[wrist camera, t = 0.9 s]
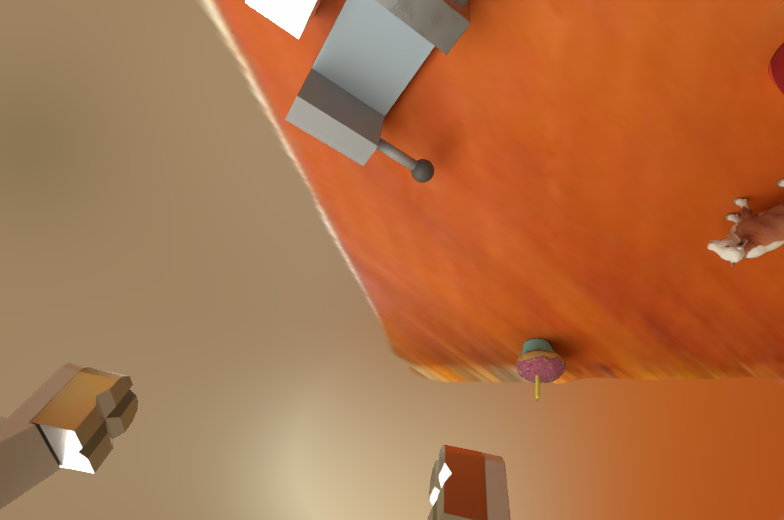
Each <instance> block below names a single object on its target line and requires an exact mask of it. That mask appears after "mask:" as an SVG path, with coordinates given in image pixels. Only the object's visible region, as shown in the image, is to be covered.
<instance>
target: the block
mask: <svg viewBox="0 0 784 520" xmlns="http://www.w3.org/2000/svg"><path fill="white" fill-rule="evenodd" d="M320 2H321V0H246V1H245V3H246V4H248V5H249V6H251V7H252V8H254V9H255V10H257V11H258V12H259V13H261V14H262V15H264V16H265V17H267V18H268V19H270V20H271V21H273V22H274V23H276V24H277V25H279V26H280V27H282V28H283V29H285V30H286V31H288V32H289V33H290V34H292V35H293V36H295V37H296V38H298V39H299V38H300V37H301V35H302V34H303V32H304V31H305V29H306V27H307V26H308V24H309V23H310V21H311V20H312V18H313V17H314V15H315V13H316V11H317V9H318V7H319V4H320Z"/></svg>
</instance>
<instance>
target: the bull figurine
mask: <svg viewBox="0 0 784 520" xmlns="http://www.w3.org/2000/svg"><path fill="white" fill-rule="evenodd" d="M777 186H781V187H784V179H781V180H779V181H778V182H777ZM747 201H748V200H747V199H746V198H745V199H742V198H736V199H735V200H734V201H733V203H734V204H736V205H738V206H740V207H741V211H740V213H741V218H740V217H739V215H738V214H736V215H734V214H728V215H726V217H725V219H726V220H730V221H733V222H736V224H735V225H733V227H732V229H731V230H730V231H729V233H728V234H727V238H724V239H721V240H720V241H719V240H716V239H714V240H711V241H710V242H709V244H708V246H707V247H708V249H709V250H713V251H715V252H716V253H717V254H718V255H719V256H720V257H721V258H723V259H724V260H729V261H730V264H731V266H732V268H733V267H734V263H735V262H738V261H740V260H741V259H742V258H754V257H758V256H760V255H762V254H764V253H765V252H768V251H771V250H774V249H776V248H778V247H780V246H782V245H784V203H780V204H778V205H775V206H773V207H771V208H770V209H768V210H766V211H764V212H763V213H761V214H759V215H757V216H756V215H755V214H754V213H753V212H752V210H751V209H750V208H749V207H748V203H747Z"/></svg>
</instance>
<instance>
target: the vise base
mask: <svg viewBox="0 0 784 520" xmlns="http://www.w3.org/2000/svg"><path fill="white" fill-rule="evenodd" d="M434 47H435V46H434V45H433V44H432V43H430V42H429V41H428V40H426V39H425V38H424V37H422V36H421V35H420V34H418V33H417V32H416V31H415V30H413V29H412V28H411V27H409V26H408V25H407V24H405V23H404V22H403V21H401V20H400V19H399V18H398V17H396V16H395V15H394V14H392V13H391V12H390V11H388V10H387V9H386V8H384V7H383V6H382V5H381V4H379V3H378V2H377V1H375V0H346V2H345V4H344V6H343V8H342V10H341V12H340V14H339V16H338V18H337V20H336V22H335V24H334V26H333V28H332V30H331V32H330V34H329V36H328V38H327V39H326V41H325V43H324V45H323V47H322V49H321V51H320V53H319V55H318V57H317V59H316V61H315V63H314V65H313V67H312V69H311V71H310V73H309V74H308V76H307V78H306V80H305V82H304V84H303V86H302V88H301V90H300V91H299V93H298V95H297V97H296V99H295V101H294V103H293V105H292V107H291V109H290V111H289V113H288V115H287V117H286V119H285V120H287V121H288V122H290V123H292V124H293V125H295V126H297V127H298V128H300V129H302V130H303V131H305V132H307V133H308V134H310V135H312V136H313V137H315V138H317V139H319V140H320V141H322V142H324V143H325V144H327V145H329V146H330V147H332V148H334V149H335V150H337V151H339V152H340V153H342V154H344V155H345V156H347V157H349V158H350V159H352V160H354V161H356V162H357V163H359V164H361V165H362V166H364V165H365V163H366V162H367V161H368V159H369V158H370V156H371V155H372V154H373V152H374V151H375V150H376V149H378V150H379V151H381V152H383V153H384V154H386V155H387V156H389V157H391V158H392V159H394V160H396V161H397V162H399V163H400V164H402V165H404V166H405V167H407V168H408V169H410V170H411V174H412V176H413V178H414V179H415V180H416V181H418V182H421V183H424V182H427V181H429V180H430V179H431V178H432V177H433V174H434V167H433V165H432V163H431V162H430V161H428V160H425V159H420V160H418V161H416V160H415V159H413V158H412V157H410V156H408V155H407V154H405V153H404V152H402V151H400V150H399V149H397V148H396V147H394V146H393V145H391V144H389V143H388V142H386V141H385V140H383V139H381V138H380V136H381V131H382V126H383V122H384V117H385V115H386V114H387V112H388V111H389V110H390V108H391V107H392V105H393V104H394V103H395V101H396V100H397V98H398V97H399V96H400V94H401V93H402V91H403V90H404V89H405V87H406V86H407V84H408V83H409V82H410V80H411V79H412V77H413V76H414V75H415V73H416V72H417V70H418V69H419V68H420V66H421V65H422V63H423V62H424V61H425V59H426V58H427V56H428V55H429V54H430V52H431V51H432V49H433V48H434Z"/></svg>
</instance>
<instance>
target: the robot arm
mask: <svg viewBox="0 0 784 520" xmlns="http://www.w3.org/2000/svg"><path fill="white" fill-rule="evenodd" d="M132 385H133V384H132V381H131V378H130V376H126V375H121V374H116V373H112V372H108V371H102V370H98V369H94V368H90V367H87V366H81V365H77V364H72V363H67V364H65V365H63V366H61V367H60V368H59V369H57V370H56V371H55V372H54V373H53V374H52V375H51V376H50V377H49V378H48V379H47V380H46V381H45V382H44V383H43V384H42V385H41V386H40V387H39V388H38V389H37V390H36V391H35V392H34V393H33V394H32V395H31V396H30V397H29V398H28V399H27V400H26V401H25V402H24V403H23V404H22V405H20V406H19V408H17V409H16V410H15V411H14V412H13V413H12V414H11V415H10V416H9V417H8V418H6V417H0V509H1V508H3V507H4V506H6V505H7V504H9V503H10V502H12V501H13V500H15V499H16V498H18V497H19V496H21V495H22V494H24V493H25V492H27V491H28V490H30V489H31V488H33V487H34V486H36V485H37V484H39V483H40V482H41V481H43V480H45V479H46V478H48V477H49V476H51V475H52V474H54V473H55V472H57V471H58V470H59V469H60V467H64V468H69V469H74V470H80V471H86V472H90V473H95V472H96V471H97V469H98V468H99V467H100V465H101V464H102V462H103V461H104V460H105V459H106V457H107V456H108V454H109V453H110V452H111V450H112V449H113V438H115V437H117V436H119V435H120V434H122V433H124V432H125V431H126V430H127V428H128V427H129V426H130V424H131V422H132V421H133V419H134V416H135V414H136V412H137V407H138V400H137V396H136V395H135V394H134V393H133V392H132V391H131V390H130V388H131V386H132ZM429 500H430V502H431V504H432V506H433V507H432V509H431V512H430V514H429V517H428V520H510V510H509V500H508V490H507V479H506V469H505V462H504V460H503V458H502V457H500V456H495V455H491V454H486V453H482V452H478V451H473V450H468V449H463V448H458V447H453V446H448V445H443V446H442V447H441V450H440V455H439V460H437V461H436V462H435V464H434V467H433V471H432V475H431V481H430V490H429Z"/></svg>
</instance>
